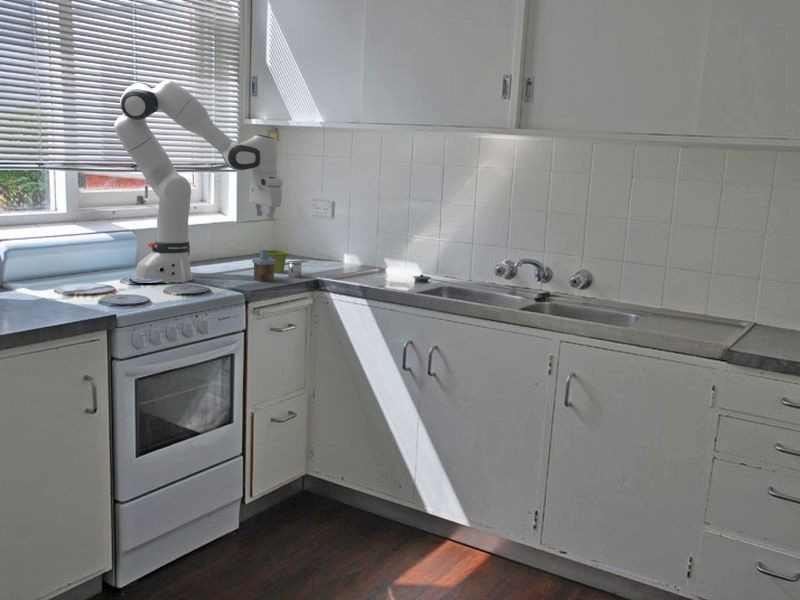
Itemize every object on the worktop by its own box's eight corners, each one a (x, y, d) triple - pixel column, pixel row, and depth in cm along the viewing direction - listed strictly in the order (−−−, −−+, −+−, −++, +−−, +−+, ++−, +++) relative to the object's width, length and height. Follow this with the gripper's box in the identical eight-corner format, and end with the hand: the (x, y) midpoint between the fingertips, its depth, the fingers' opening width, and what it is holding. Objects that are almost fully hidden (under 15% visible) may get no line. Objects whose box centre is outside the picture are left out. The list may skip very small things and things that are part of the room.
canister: (260, 283, 314) (260, 264, 313) (253, 280, 319) (254, 262, 317) (273, 282, 317) (274, 263, 316) (267, 279, 322) (267, 261, 321)
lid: (259, 264, 312) (259, 251, 311) (252, 262, 318) (252, 249, 317) (275, 264, 316) (276, 250, 315) (268, 261, 321) (268, 248, 320)
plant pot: (290, 272, 342) (290, 250, 340) (284, 275, 333) (285, 254, 331) (267, 270, 343) (267, 249, 341) (261, 274, 333) (261, 252, 332)
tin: (291, 279, 325) (292, 263, 324) (285, 277, 329) (286, 261, 328) (303, 278, 328) (304, 262, 327) (297, 276, 332) (298, 260, 331)
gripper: (245, 178, 318) (245, 214, 321) (268, 181, 301) (268, 220, 304) (260, 177, 321) (260, 214, 324) (284, 181, 305) (284, 219, 308)
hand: (264, 217), depth 314 cm, fingers open, 8 cm apart
